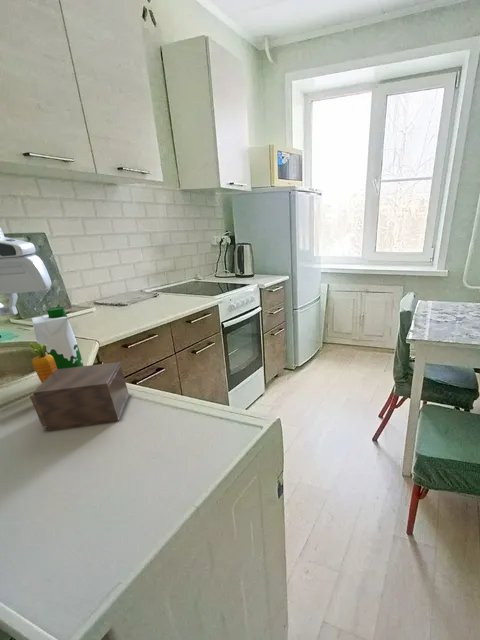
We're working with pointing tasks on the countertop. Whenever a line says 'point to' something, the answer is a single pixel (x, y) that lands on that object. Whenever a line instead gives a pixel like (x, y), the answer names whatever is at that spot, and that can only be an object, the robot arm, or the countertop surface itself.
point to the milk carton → (58, 338)
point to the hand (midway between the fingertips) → (9, 314)
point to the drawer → (38, 410)
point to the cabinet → (82, 396)
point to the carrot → (43, 362)
